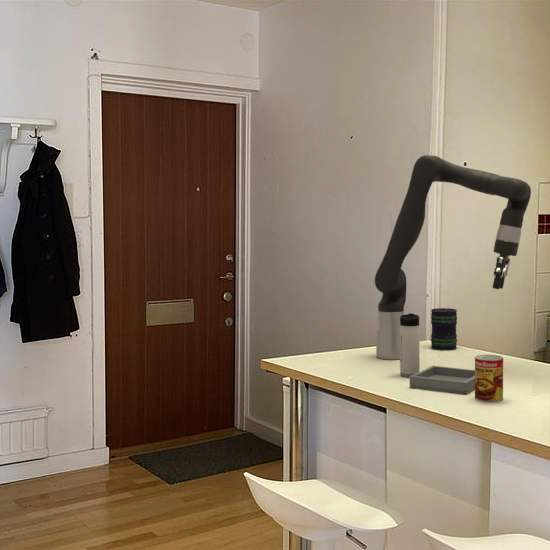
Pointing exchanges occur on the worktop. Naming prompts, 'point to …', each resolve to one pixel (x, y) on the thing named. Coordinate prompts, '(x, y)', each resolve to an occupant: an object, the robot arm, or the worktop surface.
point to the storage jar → (443, 329)
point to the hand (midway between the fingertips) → (497, 288)
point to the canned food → (489, 378)
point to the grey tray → (444, 380)
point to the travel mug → (409, 345)
